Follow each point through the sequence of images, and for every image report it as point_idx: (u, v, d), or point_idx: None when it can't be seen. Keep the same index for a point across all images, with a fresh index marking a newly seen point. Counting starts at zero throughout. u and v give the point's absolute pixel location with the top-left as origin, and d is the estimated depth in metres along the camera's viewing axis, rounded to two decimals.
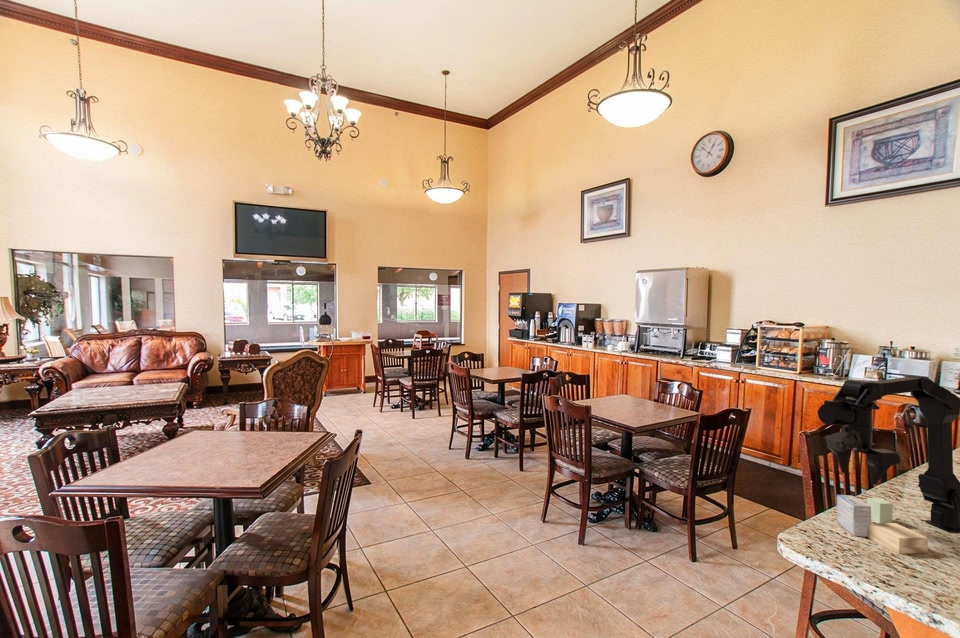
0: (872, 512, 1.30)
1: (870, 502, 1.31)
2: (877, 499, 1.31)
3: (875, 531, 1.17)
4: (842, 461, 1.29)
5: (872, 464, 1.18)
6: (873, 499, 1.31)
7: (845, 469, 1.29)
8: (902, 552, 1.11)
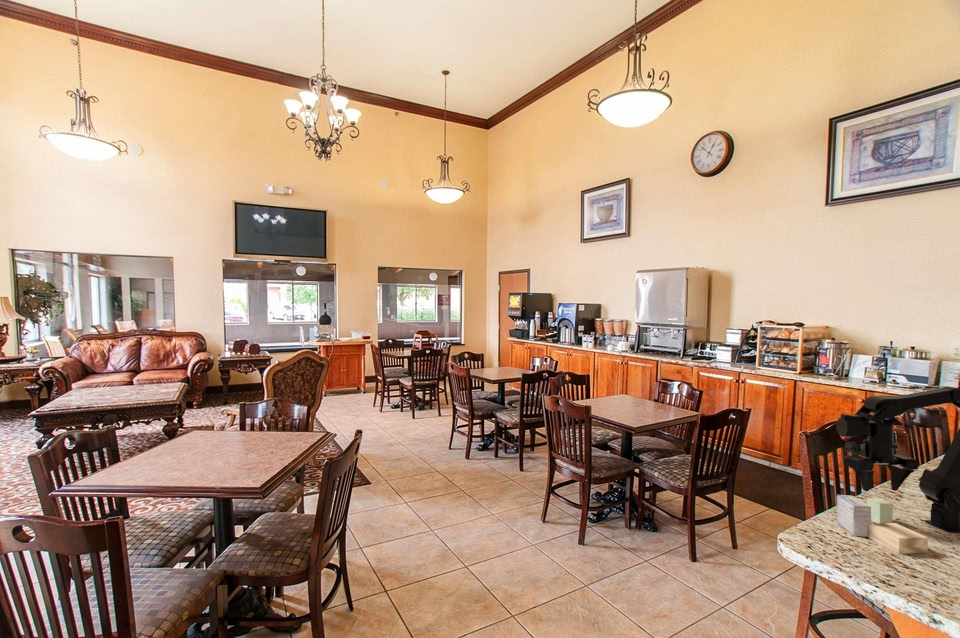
0: (872, 512, 1.30)
1: (870, 502, 1.31)
2: (877, 499, 1.31)
3: (875, 531, 1.17)
4: (893, 478, 1.31)
5: None
6: (873, 499, 1.31)
7: (894, 487, 1.30)
8: (902, 552, 1.11)
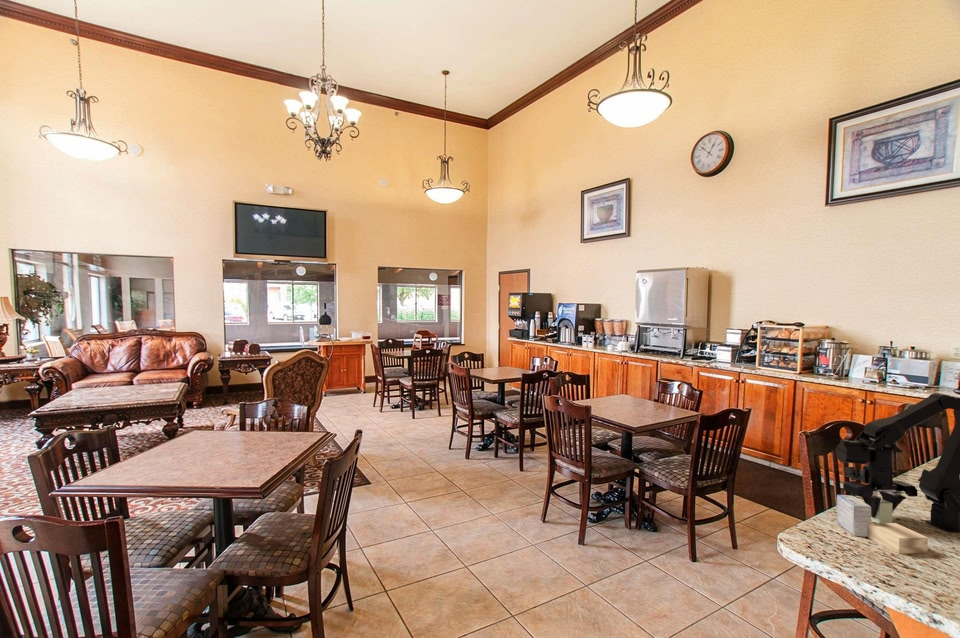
0: None
1: None
2: None
3: (875, 531, 1.17)
4: None
5: None
6: None
7: None
8: (902, 552, 1.11)
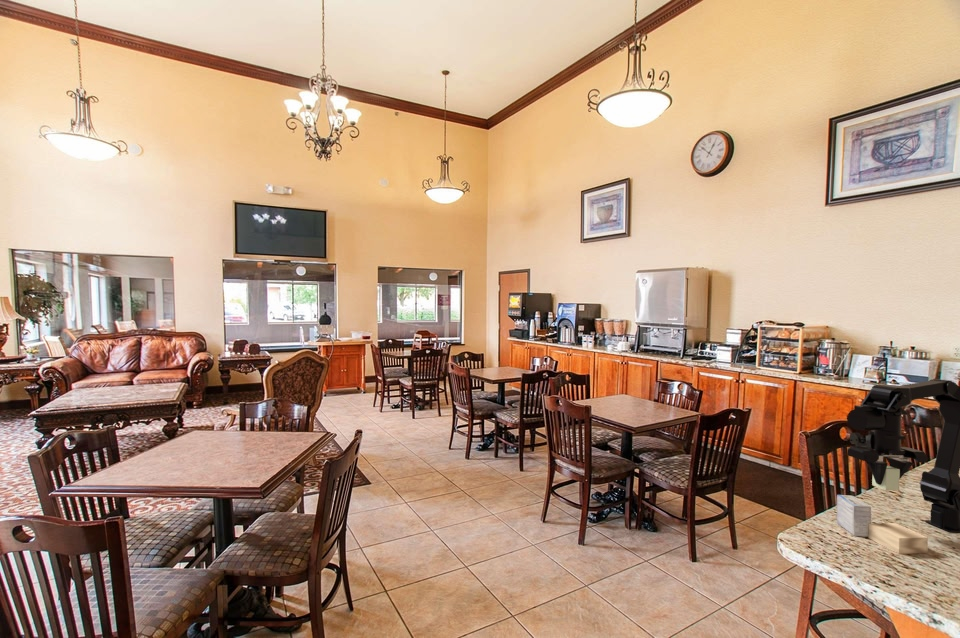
0: None
1: None
2: None
3: (875, 531, 1.17)
4: None
5: None
6: None
7: None
8: (902, 552, 1.11)
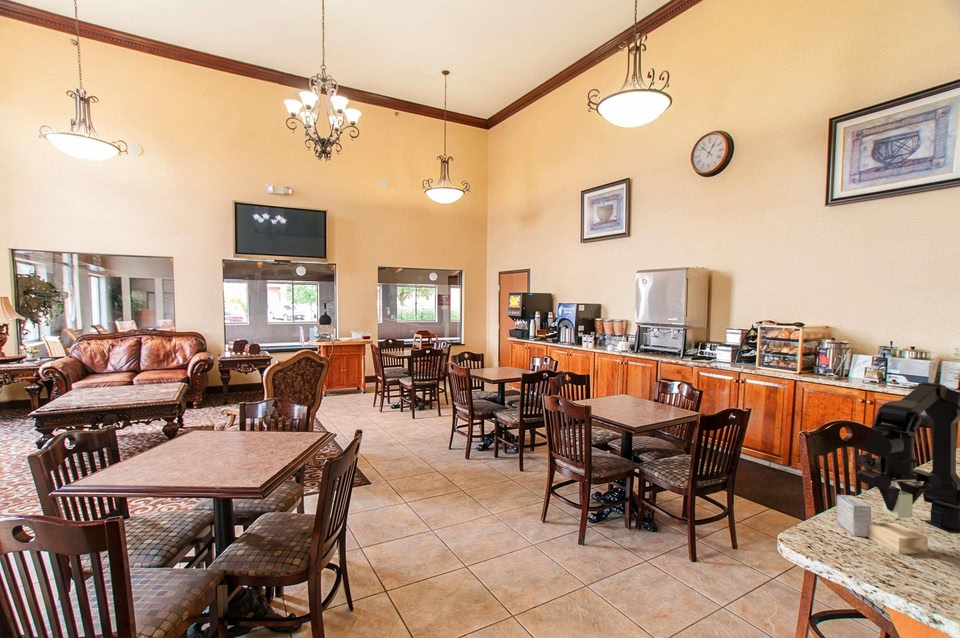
0: None
1: None
2: None
3: (875, 531, 1.17)
4: None
5: None
6: None
7: None
8: (902, 552, 1.11)
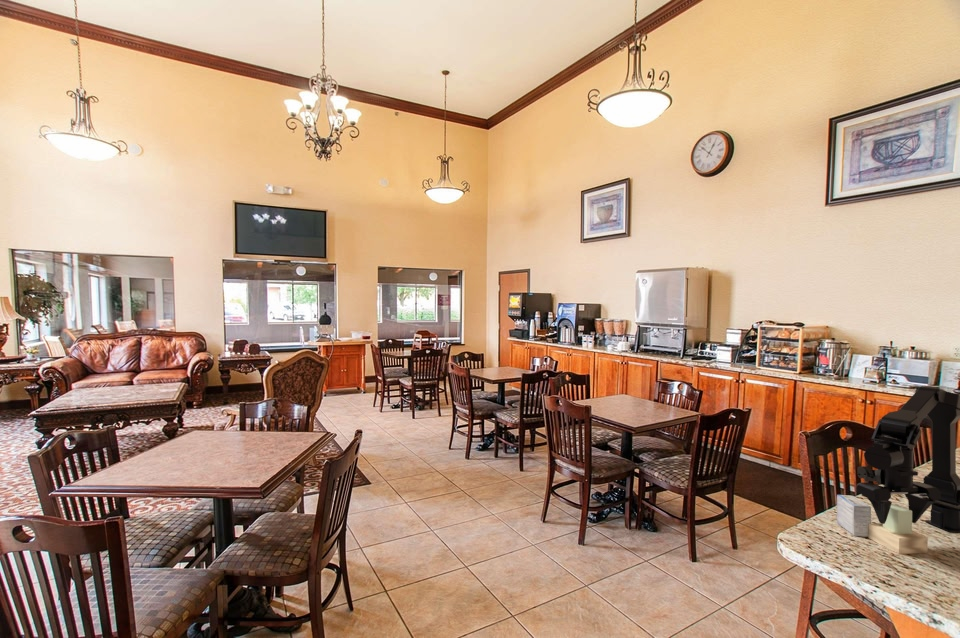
0: (889, 521, 1.16)
1: None
2: (894, 506, 1.17)
3: (875, 531, 1.17)
4: (912, 509, 1.16)
5: None
6: None
7: (913, 518, 1.16)
8: (902, 552, 1.11)
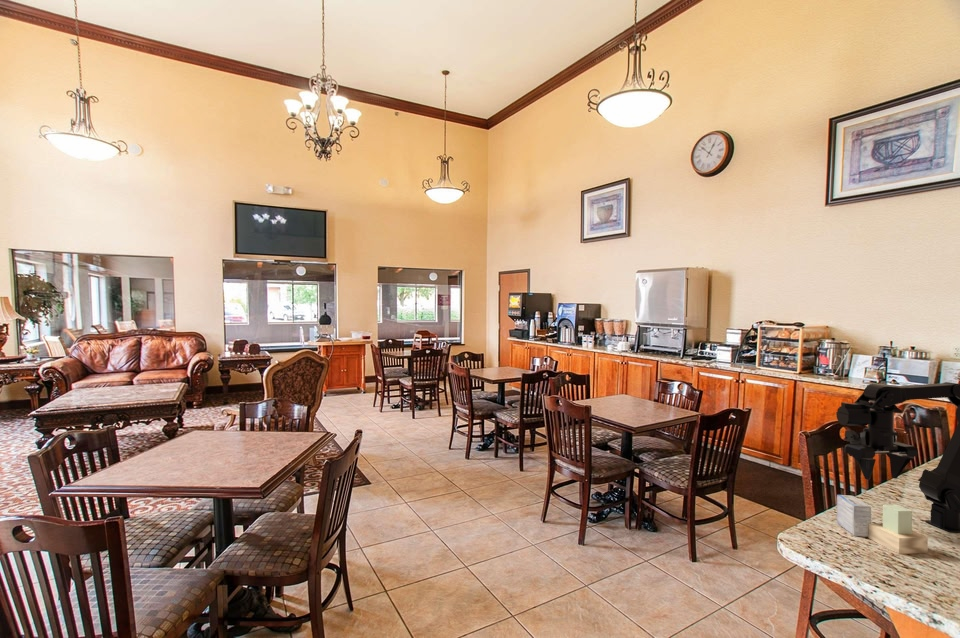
0: (889, 521, 1.16)
1: (886, 509, 1.16)
2: (894, 506, 1.17)
3: (875, 531, 1.17)
4: (893, 466, 1.31)
5: None
6: (890, 506, 1.17)
7: (894, 474, 1.30)
8: (902, 552, 1.11)
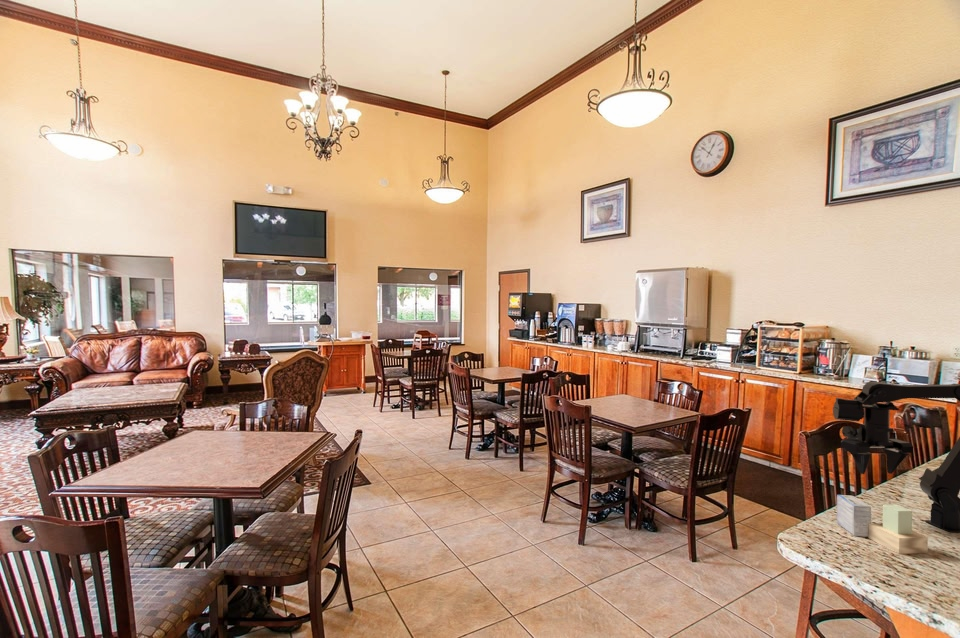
0: (889, 521, 1.16)
1: (886, 509, 1.16)
2: (894, 506, 1.17)
3: (875, 531, 1.17)
4: (889, 462, 1.34)
5: None
6: (890, 506, 1.17)
7: (890, 470, 1.34)
8: (902, 552, 1.11)
